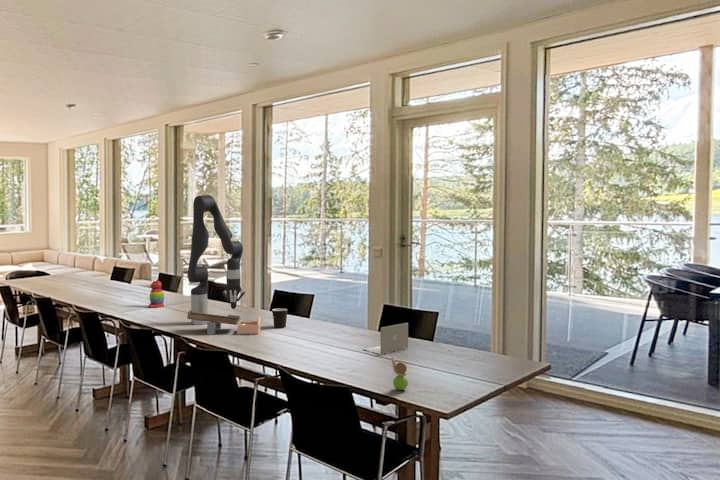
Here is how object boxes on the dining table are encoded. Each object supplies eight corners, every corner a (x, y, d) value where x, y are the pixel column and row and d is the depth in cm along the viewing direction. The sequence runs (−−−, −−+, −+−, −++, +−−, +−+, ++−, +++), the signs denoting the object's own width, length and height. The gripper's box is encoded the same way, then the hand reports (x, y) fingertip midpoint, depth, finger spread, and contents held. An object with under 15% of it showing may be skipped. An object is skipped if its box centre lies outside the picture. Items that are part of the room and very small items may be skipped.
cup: (239, 330, 318) (239, 315, 318) (260, 330, 319) (260, 315, 319) (236, 334, 308) (236, 319, 307) (258, 334, 308) (258, 319, 308)
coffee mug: (284, 329, 322) (284, 311, 322) (269, 328, 324) (269, 310, 323) (291, 325, 334) (291, 307, 333) (277, 324, 335) (276, 307, 335)
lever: (193, 315, 322) (194, 307, 322) (240, 321, 323) (241, 313, 323) (186, 320, 308) (187, 312, 308) (236, 326, 309) (237, 318, 309)
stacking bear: (148, 305, 399) (148, 280, 398) (164, 305, 402) (164, 279, 401) (148, 308, 389) (147, 281, 388) (164, 307, 392) (163, 281, 391)
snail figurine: (395, 386, 218) (395, 354, 217) (410, 389, 214) (410, 357, 214) (387, 390, 213) (388, 357, 213) (403, 393, 210) (403, 360, 209)
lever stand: (213, 328, 324) (213, 316, 324) (220, 328, 324) (220, 316, 324) (207, 334, 307) (207, 322, 307) (215, 334, 307) (214, 322, 307)
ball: (238, 327, 315) (243, 321, 315) (244, 332, 315) (249, 326, 315) (237, 328, 311) (242, 323, 311) (243, 333, 311) (248, 327, 311)
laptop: (389, 345, 286) (390, 318, 286) (408, 349, 277) (408, 322, 276) (362, 350, 275) (362, 323, 274) (380, 355, 265) (380, 327, 264)
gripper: (246, 276, 323) (246, 307, 324) (222, 276, 322) (222, 307, 324) (244, 278, 316) (244, 310, 317) (220, 278, 315) (220, 310, 316)
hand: (233, 308), depth 320 cm, fingers closed
